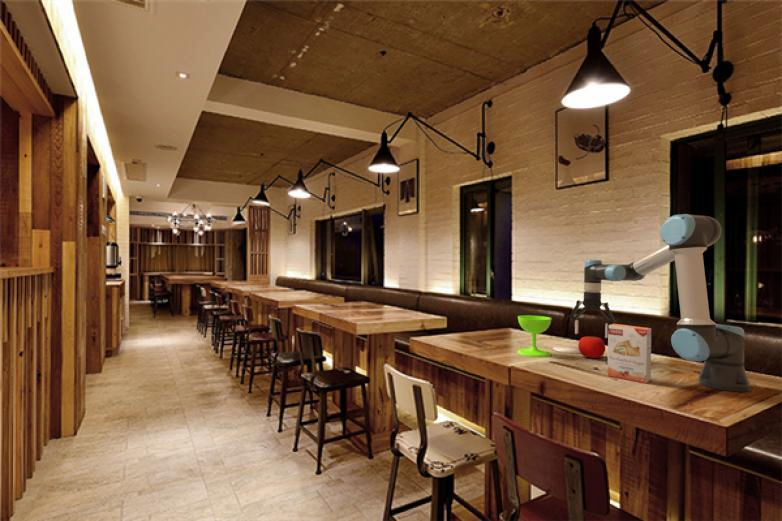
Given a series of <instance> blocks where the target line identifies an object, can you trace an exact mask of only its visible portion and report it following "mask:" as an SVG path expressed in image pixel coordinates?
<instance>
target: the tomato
mask: <svg viewBox="0 0 782 521" xmlns="http://www.w3.org/2000/svg"><path fill="white" fill-rule="evenodd" d="M577 347H578V348H579V351H580V353H581V354H580V355H582V356H584V357H586V358H592V359H598V358H599V359H600V358H601V357H603V355H604V354H605V352H606V344H605V341H604V340H603V339H602V338H601V337H597V336H594V335H591V336H589V335H588V336H584V337H581V338H580V339H579V341H578V346H577Z"/></svg>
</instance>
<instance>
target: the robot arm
mask: <svg viewBox="0 0 782 521" xmlns="http://www.w3.org/2000/svg"><path fill="white" fill-rule="evenodd" d="M721 235H722V226H721V224H720V222H719V221H718V220H717V219H715V218H713V217H711V216H707V215H697V214H696V215H695V214H688V213H682V214H674V215H672V216H670V217H668V218H666V219H665V222H664V223H663V224H662V225H661V228H660V238H661V241H663V242H664V245H661V246H659V247H658V248H656V249H654V250H653V251H650V252H648V253H647V254H645V255H643V256H641V257H640V258H638V259H636V260H634V261H633V262H631V263H627V264H617V263H616V264H614V263H612V264H609V263H608V264H607V263H602V262H603V261H602V259H586V260H585V261H584V266H583V269H584V270H583V272H584V274H583V275H584V277H583V291H584V292H583V300H580V299H578V300H576V303H575V306H574V308H573V310H572V312H571V313H570V315H569V319H571V320H572V326H573V327H574V334H575V335H577V334H579V318H580V317H581V316H582V315H583V313H585V312H586V311H592V312H598V314H599V315H600V316H601V318H602V319H603V320H604V321H605V322H606V323H605V327H604V328H605V329H604V330H605V331H604V335H605V336H604V338H605V339H608V330H609V325H611V324H616V319H615V317H614V315H613V313H612V311H611V309H610V307H609V306H610V305H609V302H602V293H601V291H602V281H610V282H622V281H629V282H631V281H632V282H636V281H642V280H644V279H645V277H646V276H647V274H650V273H651V272H653V271H655V270H658V269H660V268H662V267H663V266H666V265H668V264H669V263H671V262H674V263H675V265H674V266H675V272H676V273H675V274H676V283H677V291H678V300H679V301H678V302H679V311H680V319H679V320H678V322H677V323H676V330H675V331H674V332H673V334H672V335H671V337H670V338H671V339H670V342H671V346H672V348H673V350H674V351H675V353H676V354H678V356H679V357H680V358H681V359H684V360H686V361H690V362H703V365H702V367H701V369H700V372H699V375H698V383H699V384H701V385H703V386H706V387H708V388H713V389H717V390H721V391H728V392H737V393H742V392H744V393H745V392H749V391H750V390H751V382H750V380H749V378H748V375H747V372H746V369H745V347H746V346H745V343H746V342H745V340H746V336H745V330H744V329H743V327H740V326H733V325H728V324H727V325H726V324H721V323H720V324H719V323H716V322H715V321H713V320H712V319H711V316H710V309H709V300H708V299H709V298H708V290H707V289H708V288H707V281H706V275H705V274H706V273H705V265H704V255H703V253H704V252H706V251H707V249H708V247H710V246H712V245H714V244H715V243H716V242H717V241H718V240H719V239H720V237H721ZM582 305H583V307H582V309H580V311H579V312H578V310H579V308H580V306H582ZM601 307H603V308H604V310H605V311H606V313H607V315H608V316H607V315H606V314H605V312H604V311H603V310H602V308H601ZM577 312H578V313H577ZM576 313H577V314H576ZM575 314H576V315H575Z"/></svg>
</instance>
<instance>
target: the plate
mask: <svg viewBox="0 0 782 521" xmlns="http://www.w3.org/2000/svg"><path fill="white" fill-rule="evenodd" d="M552 350H553V351H555V352H558V353H563V354H572V355H582V354H581V353H580V351H579V348H578V346H572V345H555V346H552Z"/></svg>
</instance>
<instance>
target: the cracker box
mask: <svg viewBox="0 0 782 521" xmlns="http://www.w3.org/2000/svg"><path fill="white" fill-rule="evenodd" d="M607 339H608V340H607V361H608V365H607V376H608V377H612V378H613V377H614V378H617V379H623V380H627V381H631V382H637V383H641V384H645V385H646V384H647V383H649V382H650V381H651V378H652V377H651V375H652V372H651V370H652V367H651V366H652V365H651V364H652V327H651V328H650V327H642V326H634V325H627V324H619V323H611V325H609V330H608V337H607Z"/></svg>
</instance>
